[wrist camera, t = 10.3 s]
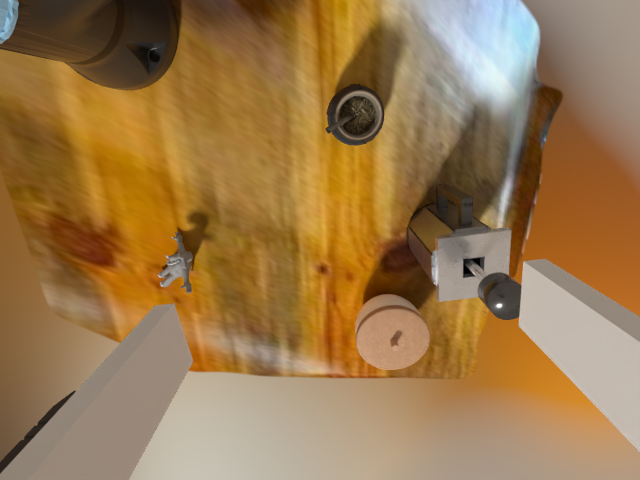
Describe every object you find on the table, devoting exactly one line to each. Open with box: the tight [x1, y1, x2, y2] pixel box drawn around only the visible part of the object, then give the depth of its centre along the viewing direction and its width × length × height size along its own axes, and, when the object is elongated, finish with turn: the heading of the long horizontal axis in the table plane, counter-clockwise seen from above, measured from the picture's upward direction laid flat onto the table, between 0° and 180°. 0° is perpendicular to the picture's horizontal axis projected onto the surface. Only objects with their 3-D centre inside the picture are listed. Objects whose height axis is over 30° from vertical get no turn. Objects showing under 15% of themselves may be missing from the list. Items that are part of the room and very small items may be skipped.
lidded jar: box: [355, 294, 430, 370], centre depth 50 cm, size 11×11×9 cm
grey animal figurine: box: [158, 232, 193, 293], centre depth 50 cm, size 10×6×9 cm
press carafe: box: [407, 184, 511, 302], centre depth 43 cm, size 12×9×13 cm
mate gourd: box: [326, 84, 384, 145], centre depth 40 cm, size 7×8×10 cm
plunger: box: [463, 258, 522, 320], centre depth 39 cm, size 6×6×18 cm
